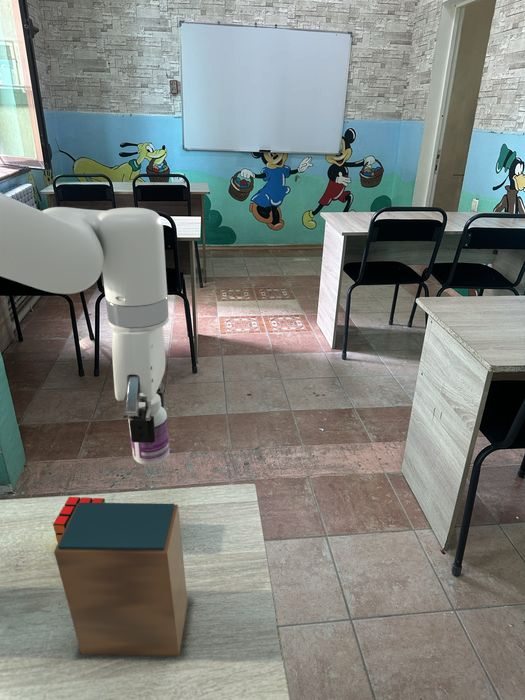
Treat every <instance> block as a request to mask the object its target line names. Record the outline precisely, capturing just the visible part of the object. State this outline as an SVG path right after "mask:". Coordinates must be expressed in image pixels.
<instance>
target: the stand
mask: <svg viewBox="0 0 525 700" xmlns="http://www.w3.org/2000/svg"><path fill="white" fill-rule="evenodd" d="M78 504H79V503H78ZM78 504H77V505H76V507H75V510H74V512H73V514H72V516H71V518H70V520H69V522H68V524H67V526H66V528H65V530H64V532H63V534H62V536H61V538H60V540H59V542H57V544H56V547H55V549H54V552H53V553H54V556H55V560H56V564H57V568H58V571H59V575H60V578H61V584H62V587H63V590H64V591H63V592H64V594H65V595H64V596H65V598H66V602H67V606H68V610H69V613H70V617H71V621H72V625H73V629H74V632H75V635H76V640H77V644H78V647H79V651H80V655H115V656H116V655H117V656H119V655H120V656H121V655H123V656H125V655H127V656H179V655H180V652H181V646H182V641H183V640H182V639H183V634H184V629H185V628H184V627H185V622H186V616H187V609H188V593H187V583H186V574H185V563H184V562H185V561H184V552H183V542H182V531H181V521H180V510H179V504H176V503H173V504H174V510H173V514H172V518H171V522H170V527H169V531H168V535H167V539H166V543H165V548H164V550H99V549H59V548H58V546H59V544H60V542H61V540H62V538H63V536H64V533H65V531H66V529H67V527H68V525H69V523H70V521H71V519H72V517H73V515H74V513H75V511H76V509H77V506H78Z"/></svg>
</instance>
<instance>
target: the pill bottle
mask: <svg viewBox="0 0 525 700" xmlns="http://www.w3.org/2000/svg"><path fill="white" fill-rule="evenodd" d="M139 396H146V395H144V394H143V393H140V395H139ZM139 407H140V408H143V409H144V410H145V402H139ZM167 414H168V413H167V411H166V409H165V407H164V408H163V407H161V398H160V396H159V395H158V394H156V395H155V397H154V398H153V399H152V400H151V416H154V424H155V436H156V439H155V442H154V443H143V442H133V441H132V440H131V439H130V444H131V450H132V451H131V452H132V457H133V459H134V461H135V462H137V463H138V464H140V465H143V466H153V465H157V464H160V463H162V462H163V461H165V460H166V459H167V458H168V457H169V455H170V441H169V440H170V439H169V437H170V436H169V425H168V415H167ZM127 422H128V427H129V429H130V422H129V418H128V421H127ZM129 437H130V438H131V431H130V430H129Z"/></svg>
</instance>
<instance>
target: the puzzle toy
mask: <svg viewBox="0 0 525 700" xmlns="http://www.w3.org/2000/svg"><path fill="white" fill-rule="evenodd" d="M78 503H106V499H105V498H102V497H94V498H93V497H83V496H82V497H80V496H69V497H68V498H67V500H66V501H65V503H64V506H62V508H61V510H60V511H59V513H58V515H57V517H56V519H55V520H54V522H53V523H52V526H53V531H54V533H55V539H56V543H58V542H59V540H60V538H61V536H62V534H63V532H64V530H65V528H66V526H67V524H68V522H69V520H70V518H71V516H72V514H73V512H74V510H75V507H76V505H77V504H78Z"/></svg>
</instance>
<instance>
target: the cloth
mask: <svg viewBox="0 0 525 700" xmlns="http://www.w3.org/2000/svg"><path fill="white" fill-rule="evenodd" d="M174 504H175V503H154V502H153V503H151V502H150V503H146V502H145V503H144V502H142V503H141V502H105V503H79V504H78V506H77V509H76V511H75V513H74V515H73V517H72V519H71V521H70V523H69V525H68V527H67V529H66V531H65V533H64V536H63V538H62V540H61V542H60V544H59V546H58V548H59V549H99V550H164V548H165V543H166V539H167V535H168V531H169V527H170V522H171V518H172V514H173V510H174Z"/></svg>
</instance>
